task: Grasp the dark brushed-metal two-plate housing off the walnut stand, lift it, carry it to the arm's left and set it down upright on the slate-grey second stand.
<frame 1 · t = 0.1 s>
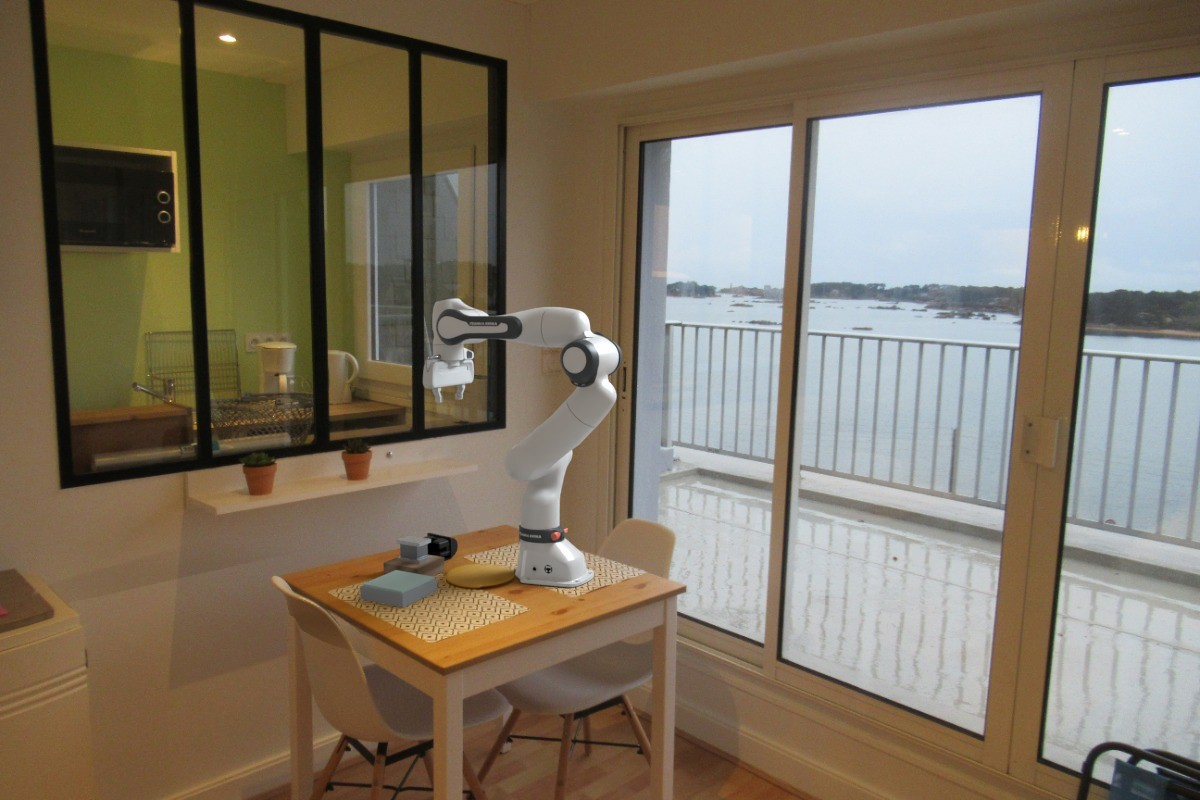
hand: (449, 401, 249), 48 cm above the table, fingers open, 8 cm apart
stand a: (414, 573, 241), on the table
housing: (414, 560, 240), point 4 cm above the table, touching stand a
stand b: (399, 595, 223), on the table
end cap: (438, 558, 257), on the table
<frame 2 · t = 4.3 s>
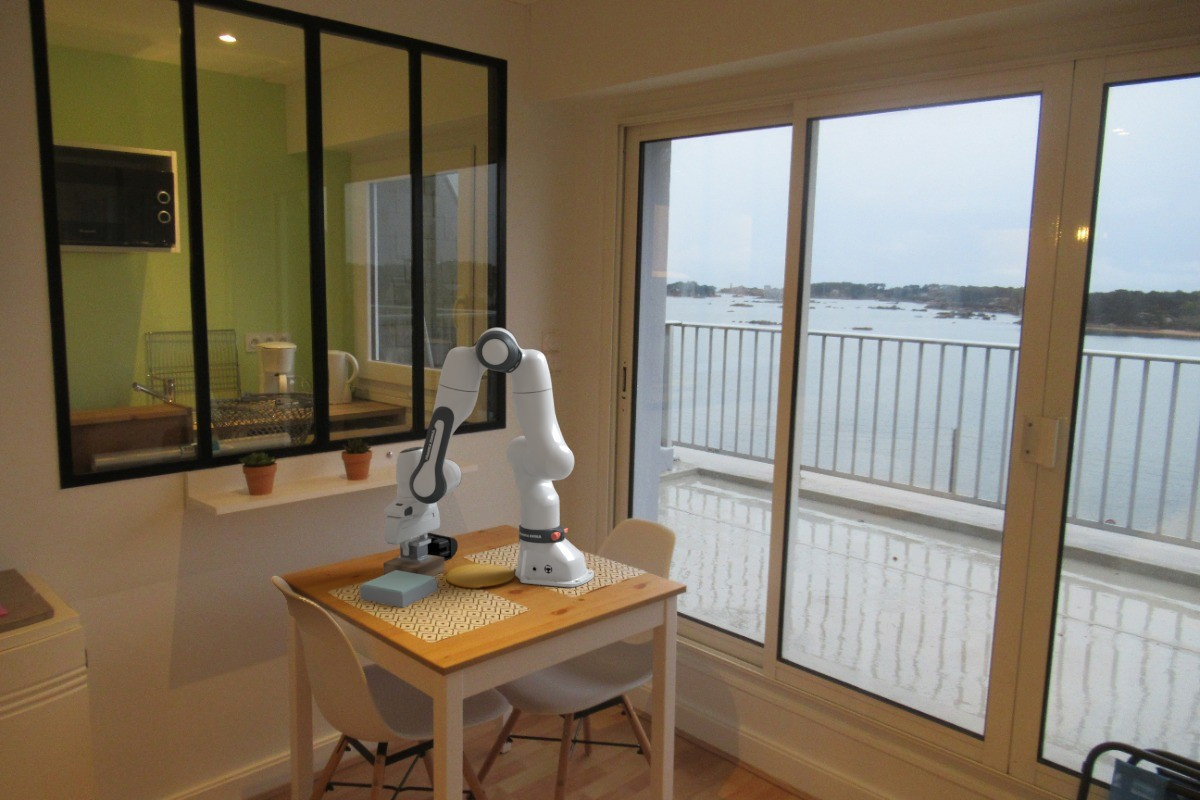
hand: (414, 552, 240), 6 cm above the table, fingers closed on housing, 5 cm apart
housing: (414, 560, 240), point 4 cm above the table, touching gripper, stand a
everything else where it was.
when the fingers open (8 cm above the table, at t = 10.5 s): housing stays where it is, resting on stand b.
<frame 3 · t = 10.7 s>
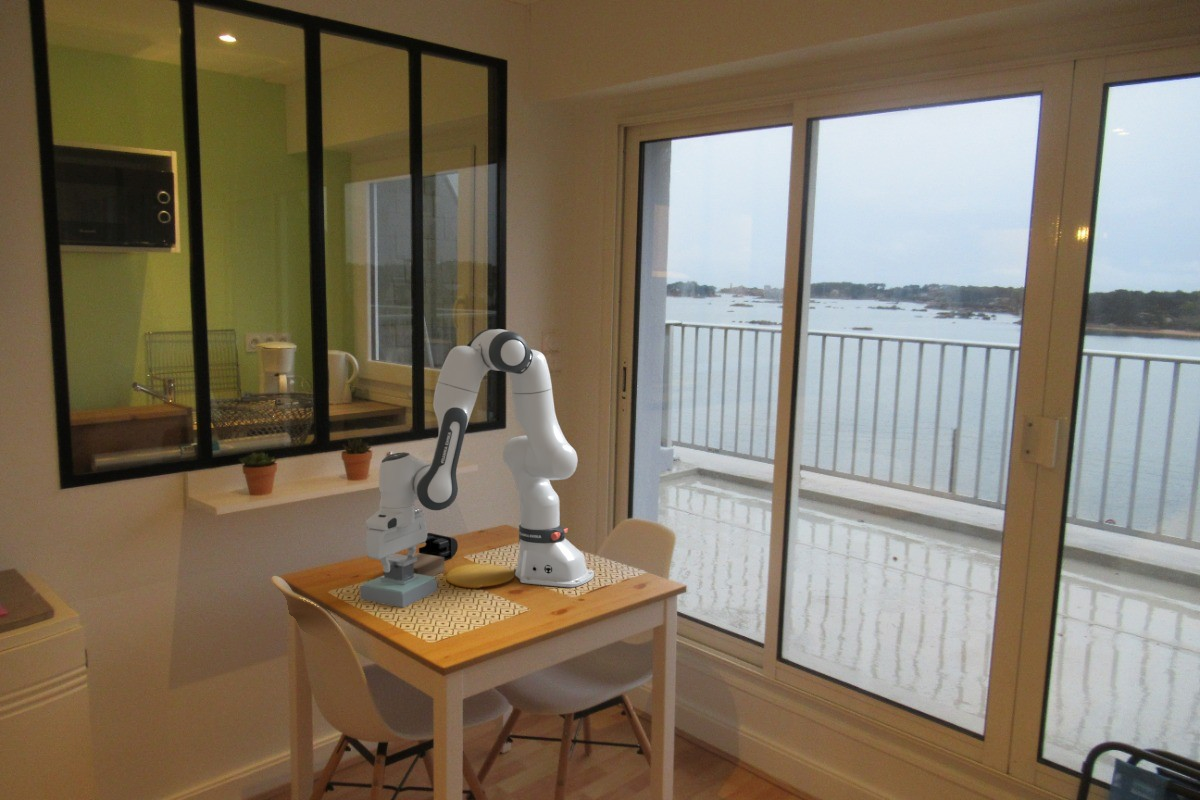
hand: (398, 567, 222), 8 cm above the table, fingers open, 7 cm apart
housing: (399, 580, 222), point 4 cm above the table, touching stand b
everything else where it was.
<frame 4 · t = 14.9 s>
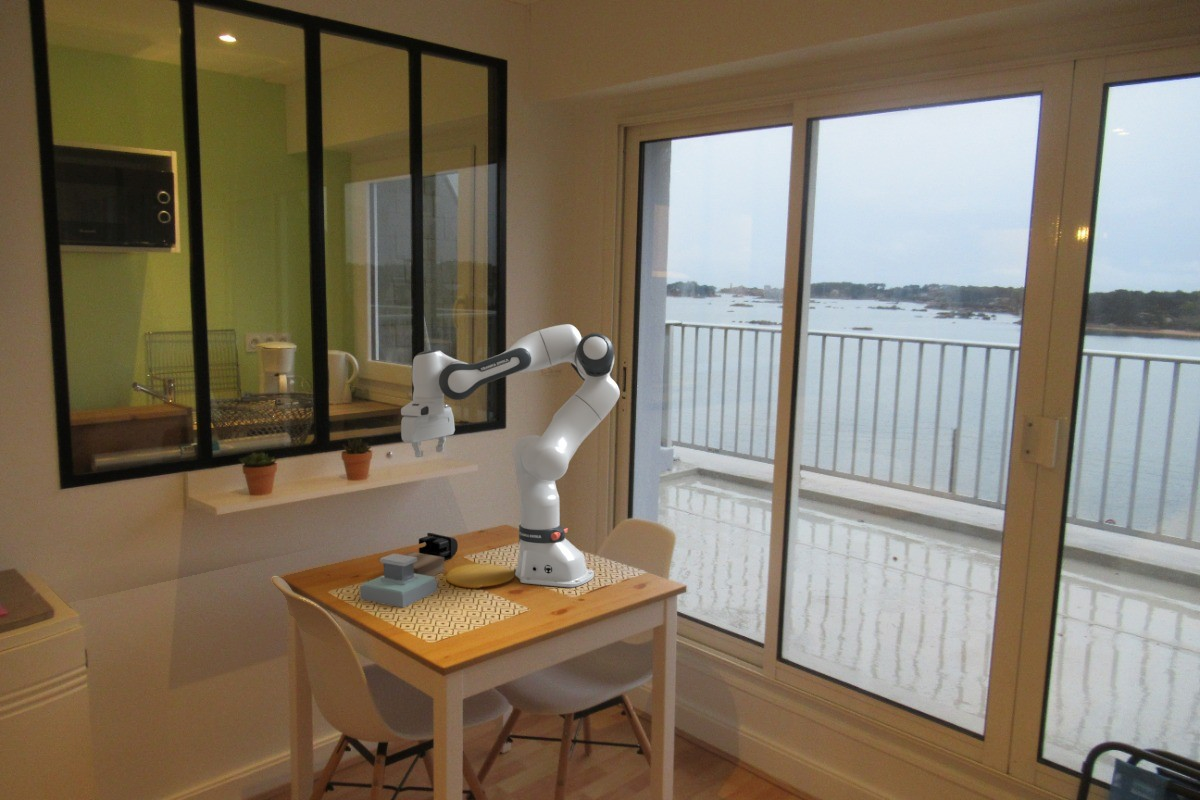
hand: (429, 454, 244), 33 cm above the table, fingers open, 8 cm apart
nothing on the table moved.
at the end: housing inside the target area on the stand b (0.1 cm from its centre), point 4.0 cm above the stand b's base; housing tilted 0°; the gripper is holding nothing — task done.
